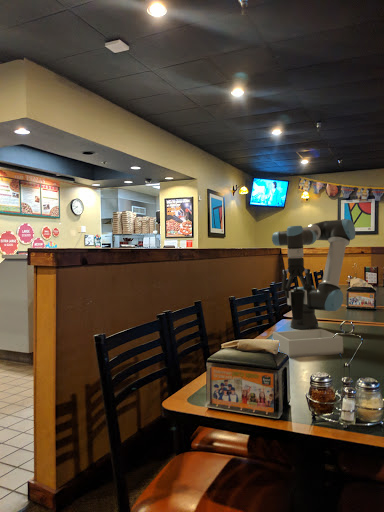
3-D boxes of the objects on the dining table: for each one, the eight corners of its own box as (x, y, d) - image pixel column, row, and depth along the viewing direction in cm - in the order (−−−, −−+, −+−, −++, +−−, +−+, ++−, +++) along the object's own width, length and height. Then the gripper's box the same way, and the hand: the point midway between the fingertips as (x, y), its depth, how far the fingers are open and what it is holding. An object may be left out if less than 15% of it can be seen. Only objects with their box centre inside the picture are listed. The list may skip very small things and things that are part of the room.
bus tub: (322, 343, 185) (321, 328, 185) (343, 353, 168) (342, 336, 168) (272, 347, 181) (272, 332, 181) (289, 357, 164) (288, 340, 164)
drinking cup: (306, 320, 191) (305, 278, 190) (290, 320, 192) (288, 278, 192) (305, 317, 198) (303, 277, 198) (289, 317, 200) (288, 277, 199)
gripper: (278, 258, 189) (280, 306, 190) (318, 256, 193) (320, 304, 193) (272, 258, 197) (274, 304, 197) (311, 256, 200) (313, 302, 201)
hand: (297, 304), depth 195 cm, fingers closed on drinking cup, 7 cm apart
